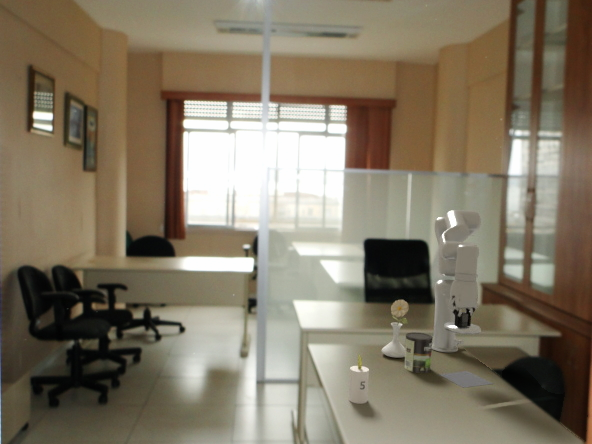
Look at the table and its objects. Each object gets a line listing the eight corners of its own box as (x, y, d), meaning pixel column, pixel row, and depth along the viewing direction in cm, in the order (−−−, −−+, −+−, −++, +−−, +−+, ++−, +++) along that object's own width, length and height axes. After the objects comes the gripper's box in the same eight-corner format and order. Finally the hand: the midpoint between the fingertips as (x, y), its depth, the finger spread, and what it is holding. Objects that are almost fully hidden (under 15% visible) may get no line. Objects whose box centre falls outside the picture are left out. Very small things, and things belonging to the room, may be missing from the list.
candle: (352, 404, 171) (355, 359, 171) (345, 396, 178) (347, 353, 177) (370, 403, 173) (373, 358, 172) (363, 395, 179) (365, 352, 179)
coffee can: (434, 370, 208) (436, 335, 207) (423, 377, 200) (426, 341, 199) (410, 364, 214) (412, 330, 213) (399, 370, 206) (401, 335, 205)
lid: (463, 323, 206) (464, 308, 206) (488, 332, 194) (489, 316, 194) (437, 326, 201) (438, 310, 201) (460, 335, 189) (461, 318, 189)
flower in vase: (376, 353, 228) (379, 296, 226) (397, 350, 233) (401, 294, 231) (393, 362, 216) (397, 302, 215) (416, 359, 221) (419, 301, 219)
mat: (467, 373, 207) (467, 371, 207) (493, 386, 194) (493, 383, 194) (438, 376, 201) (438, 374, 201) (462, 390, 188) (462, 387, 188)
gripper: (475, 275, 203) (472, 321, 204) (441, 276, 196) (438, 324, 198) (490, 278, 196) (486, 327, 197) (454, 280, 190) (451, 330, 191)
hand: (462, 325), depth 198 cm, fingers closed on lid, 3 cm apart
